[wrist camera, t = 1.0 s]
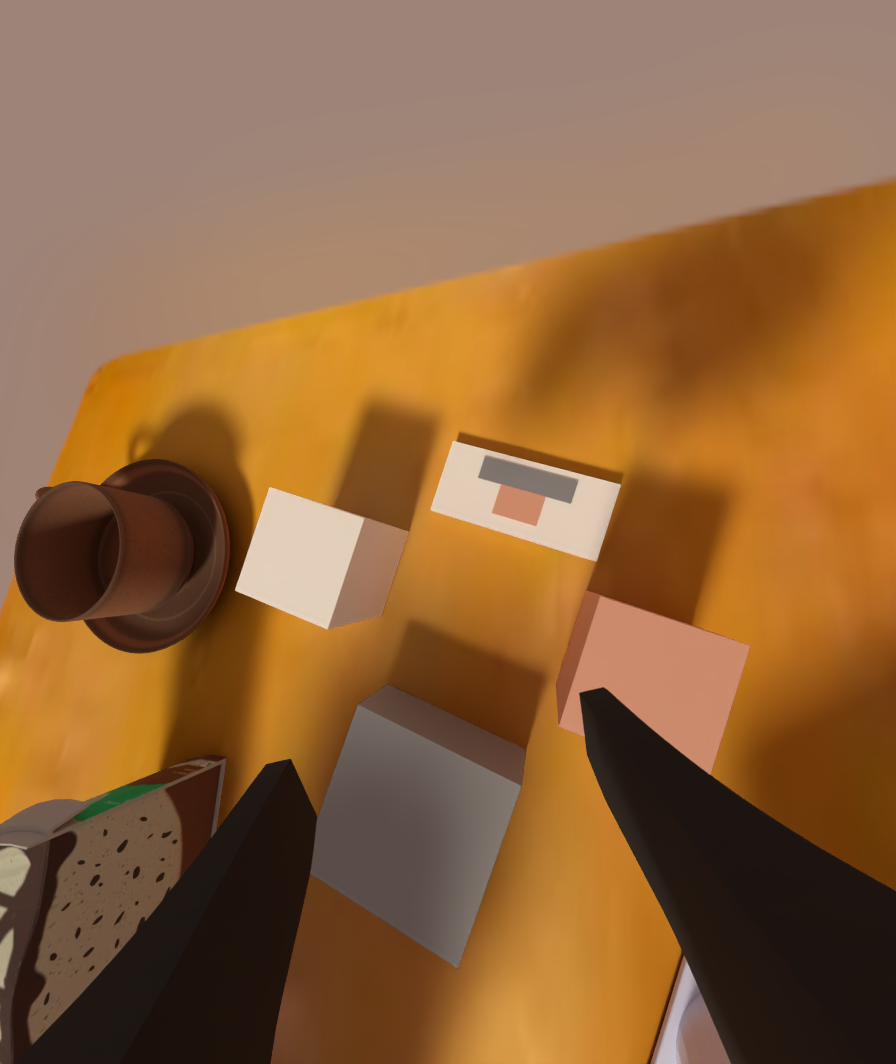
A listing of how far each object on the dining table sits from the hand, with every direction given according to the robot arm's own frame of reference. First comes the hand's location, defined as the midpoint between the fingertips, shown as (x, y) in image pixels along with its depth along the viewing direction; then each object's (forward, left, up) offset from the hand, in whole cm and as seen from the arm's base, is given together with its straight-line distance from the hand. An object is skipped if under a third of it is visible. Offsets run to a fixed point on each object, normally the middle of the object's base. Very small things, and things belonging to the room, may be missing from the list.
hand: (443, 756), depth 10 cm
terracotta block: (-6, -2, -12) cm, 13 cm away
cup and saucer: (+22, +2, -12) cm, 26 cm away
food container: (+15, +17, -12) cm, 26 cm away
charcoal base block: (+1, +8, -12) cm, 14 cm away
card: (+1, -8, -12) cm, 15 cm away
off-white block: (+9, -2, -12) cm, 15 cm away
